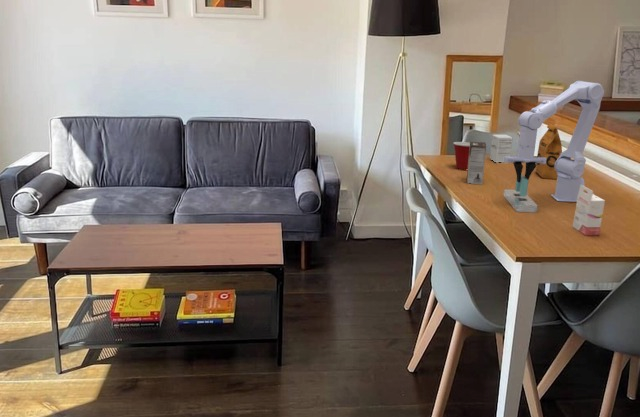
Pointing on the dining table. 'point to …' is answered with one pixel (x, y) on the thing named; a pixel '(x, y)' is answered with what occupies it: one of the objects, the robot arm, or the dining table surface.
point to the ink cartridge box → (588, 212)
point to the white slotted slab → (520, 201)
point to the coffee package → (549, 153)
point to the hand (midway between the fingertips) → (522, 181)
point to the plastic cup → (462, 154)
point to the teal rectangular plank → (522, 186)
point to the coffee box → (476, 162)
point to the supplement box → (500, 147)
